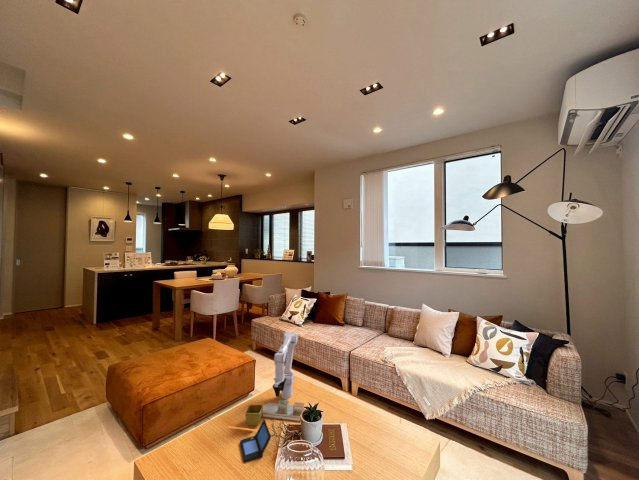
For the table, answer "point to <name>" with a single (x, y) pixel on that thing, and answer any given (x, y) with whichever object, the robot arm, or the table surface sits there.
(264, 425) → the handheld game console
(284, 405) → the sage tin
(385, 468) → the table surface
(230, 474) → the table surface
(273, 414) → the shelf
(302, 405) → the terracotta tin
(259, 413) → the flower pot
